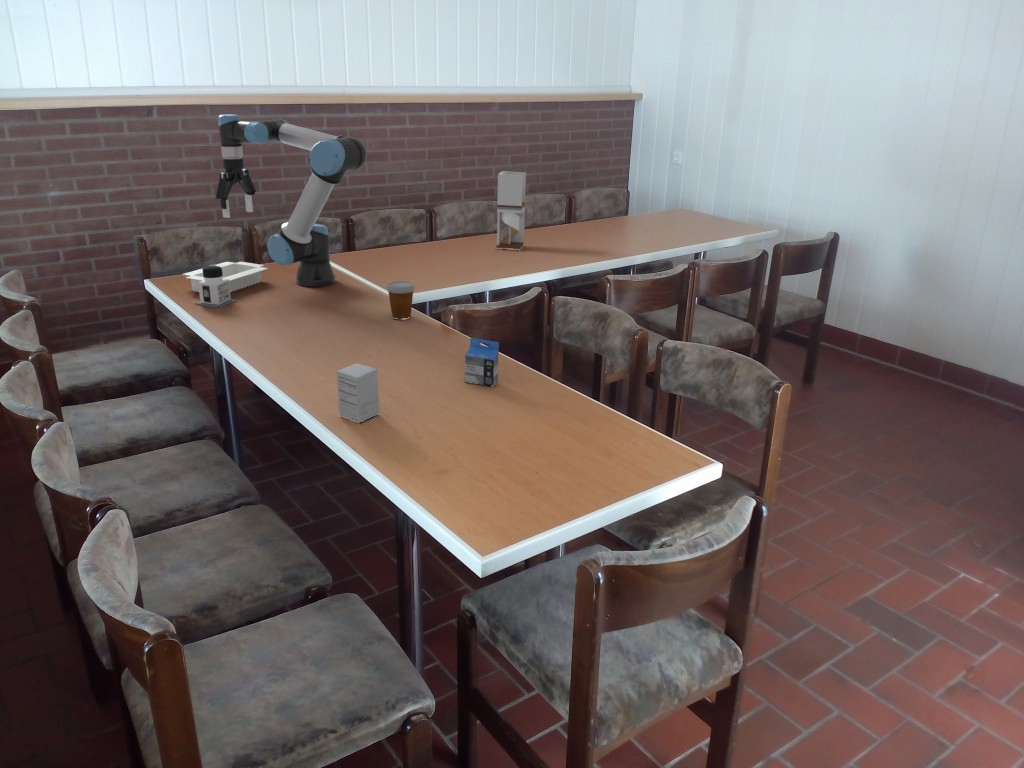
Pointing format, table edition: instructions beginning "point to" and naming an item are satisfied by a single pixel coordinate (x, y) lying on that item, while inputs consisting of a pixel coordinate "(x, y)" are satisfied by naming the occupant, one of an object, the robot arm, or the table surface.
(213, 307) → the mat
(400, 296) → the disposable coffee cup
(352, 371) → the grey drawer cabinet
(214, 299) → the container
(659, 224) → the table surface
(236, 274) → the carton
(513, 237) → the white hollow stand
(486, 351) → the label tape cartridge
